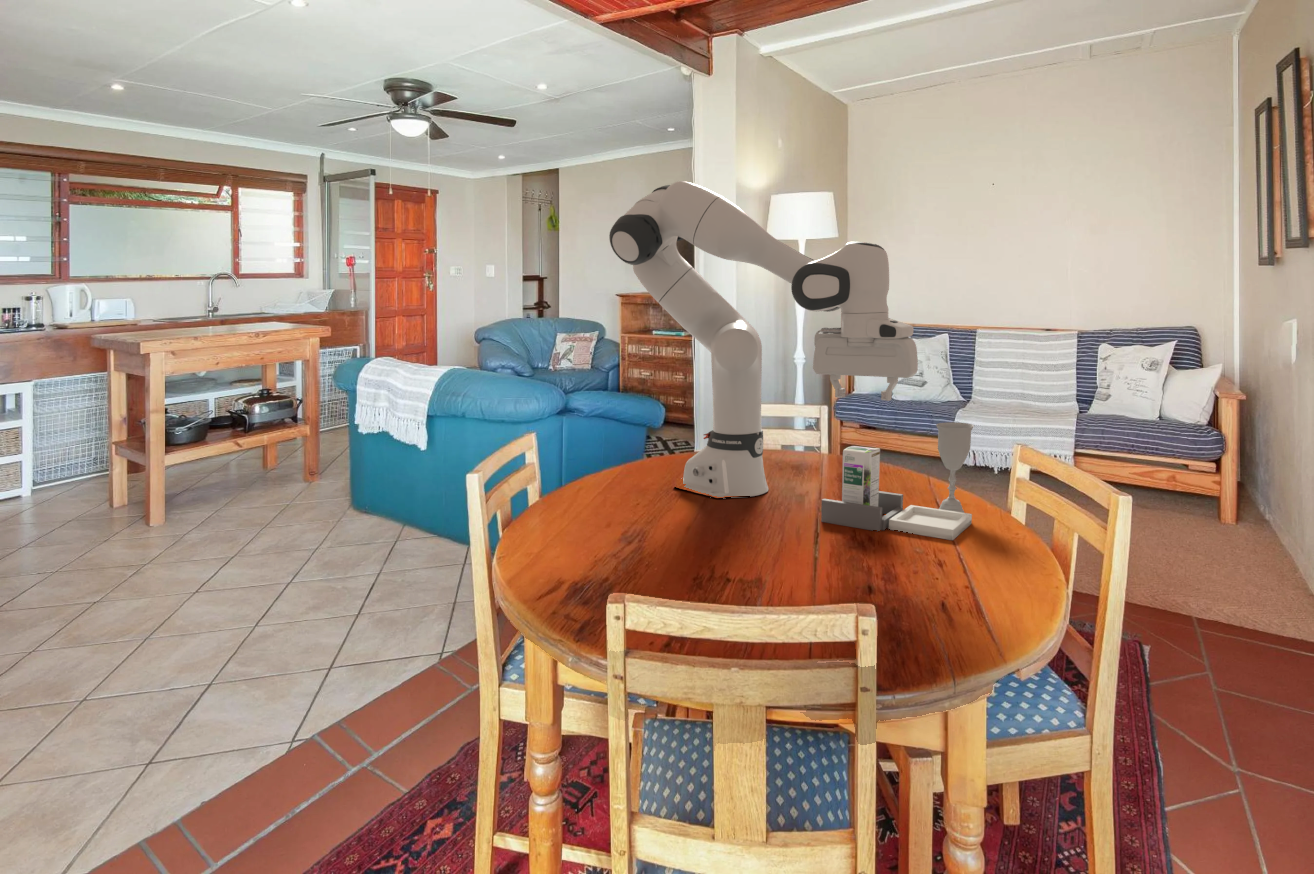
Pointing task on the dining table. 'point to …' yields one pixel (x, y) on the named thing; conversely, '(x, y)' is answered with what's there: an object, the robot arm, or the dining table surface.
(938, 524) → the tray
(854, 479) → the syrup box
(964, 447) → the chalice
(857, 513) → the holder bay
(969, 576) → the dining table surface
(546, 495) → the dining table surface
